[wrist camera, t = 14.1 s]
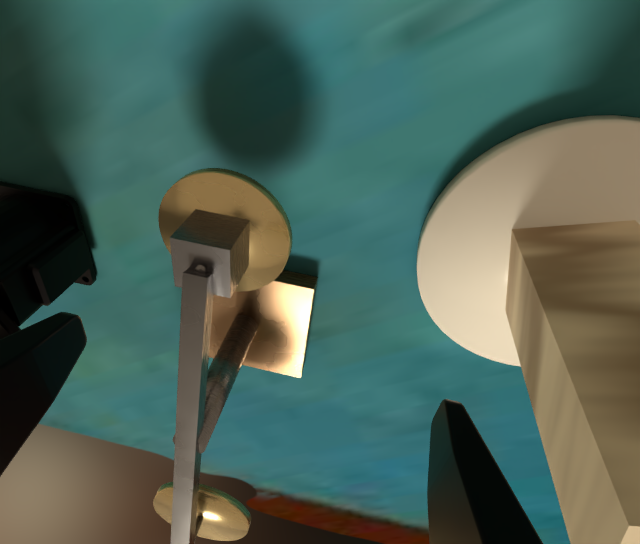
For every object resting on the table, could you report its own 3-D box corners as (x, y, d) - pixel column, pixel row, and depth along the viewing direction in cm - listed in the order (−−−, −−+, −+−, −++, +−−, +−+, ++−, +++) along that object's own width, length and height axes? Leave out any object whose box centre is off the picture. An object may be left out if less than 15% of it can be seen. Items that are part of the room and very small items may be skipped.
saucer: (390, 325, 26) (390, 338, 25) (466, 87, 17) (470, 94, 16) (620, 374, 25) (629, 390, 24) (819, 149, 16) (845, 160, 15)
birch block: (505, 310, 22) (589, 609, 12) (511, 229, 19) (628, 525, 9) (611, 307, 21) (812, 639, 10) (635, 220, 18) (940, 553, 8)
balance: (202, 403, 34) (119, 574, 25) (179, 122, 20) (-36, 261, 11) (294, 425, 34) (247, 609, 24) (336, 152, 20) (264, 327, 10)
